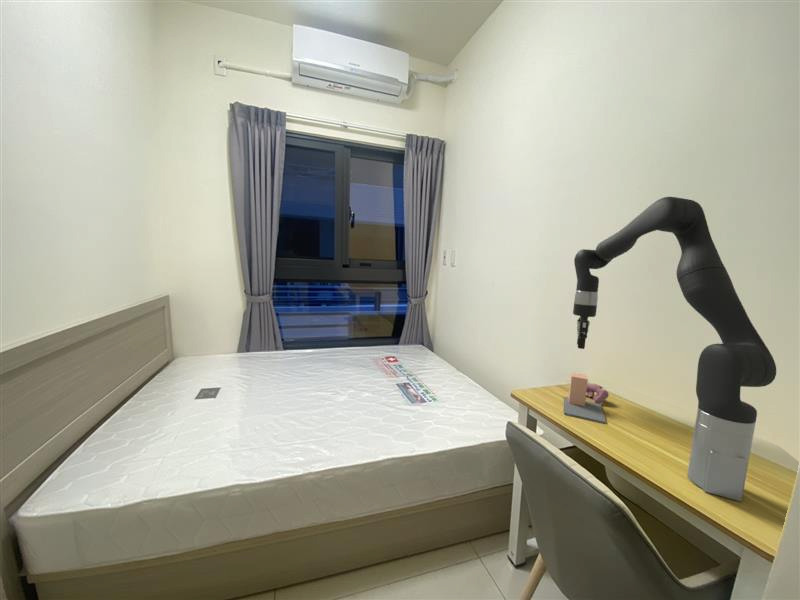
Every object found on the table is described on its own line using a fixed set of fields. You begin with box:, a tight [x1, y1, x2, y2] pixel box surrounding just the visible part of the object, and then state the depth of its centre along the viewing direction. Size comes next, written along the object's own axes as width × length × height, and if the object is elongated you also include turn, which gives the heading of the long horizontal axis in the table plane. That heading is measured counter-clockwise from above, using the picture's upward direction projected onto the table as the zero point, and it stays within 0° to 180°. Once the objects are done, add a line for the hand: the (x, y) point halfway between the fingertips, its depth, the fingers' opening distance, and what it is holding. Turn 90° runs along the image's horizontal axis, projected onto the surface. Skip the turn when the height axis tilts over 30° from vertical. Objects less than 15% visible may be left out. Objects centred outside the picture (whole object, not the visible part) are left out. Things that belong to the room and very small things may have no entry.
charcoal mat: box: [563, 396, 607, 424], centre depth 112 cm, size 16×12×1 cm
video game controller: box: [586, 382, 610, 404], centre depth 122 cm, size 10×5×7 cm, turn 13°
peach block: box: [568, 372, 589, 407], centre depth 116 cm, size 5×5×10 cm
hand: (580, 346), depth 122 cm, fingers open, 6 cm apart
